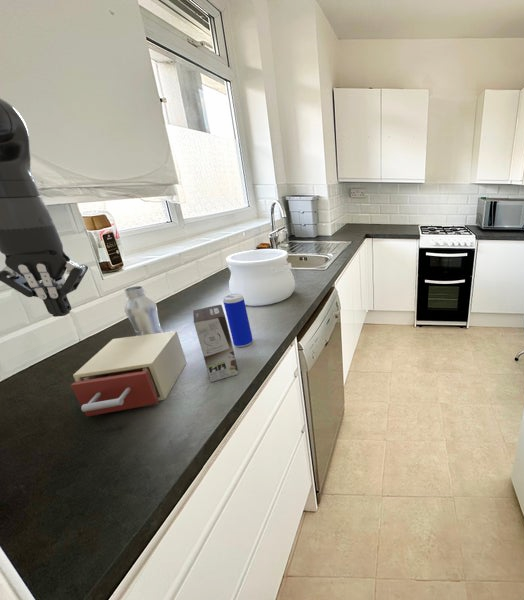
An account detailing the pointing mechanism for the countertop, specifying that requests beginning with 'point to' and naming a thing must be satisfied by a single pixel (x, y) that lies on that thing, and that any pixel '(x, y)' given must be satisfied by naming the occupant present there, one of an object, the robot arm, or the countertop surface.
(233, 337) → the beverage can
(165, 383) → the cabinet
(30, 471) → the countertop surface
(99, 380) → the drawer
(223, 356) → the coffee box
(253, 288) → the pot
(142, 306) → the plastic bottle
